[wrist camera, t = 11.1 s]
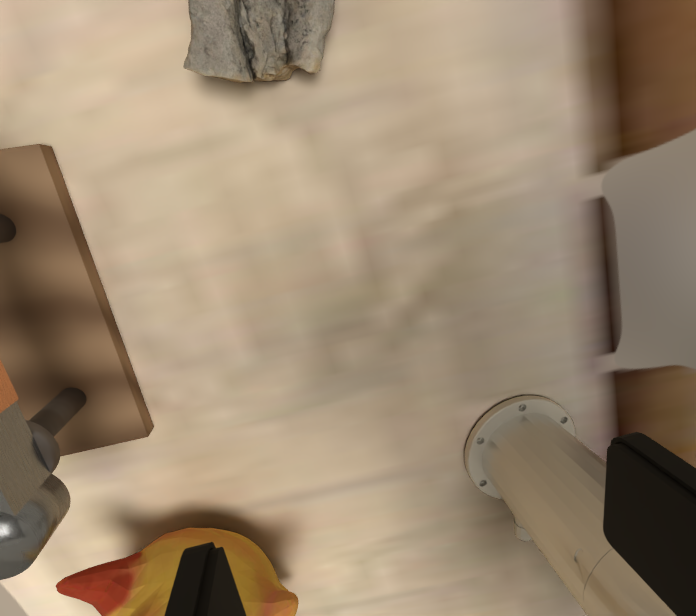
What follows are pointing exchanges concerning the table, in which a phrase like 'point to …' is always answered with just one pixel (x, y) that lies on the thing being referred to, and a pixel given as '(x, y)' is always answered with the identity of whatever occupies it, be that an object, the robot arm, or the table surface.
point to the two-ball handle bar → (24, 489)
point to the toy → (160, 571)
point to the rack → (59, 318)
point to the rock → (257, 38)
